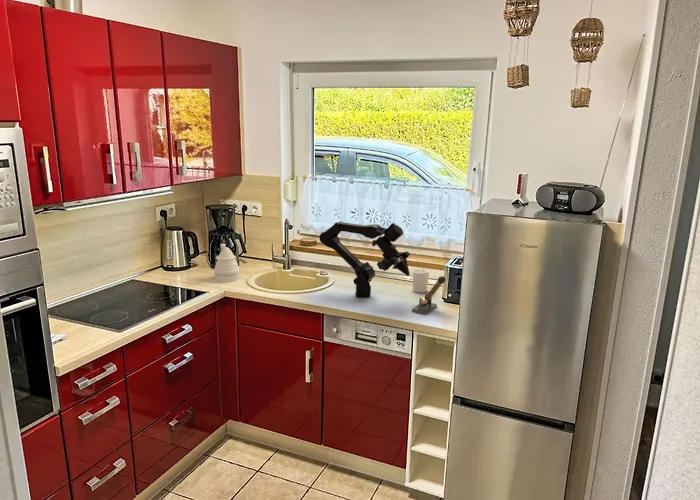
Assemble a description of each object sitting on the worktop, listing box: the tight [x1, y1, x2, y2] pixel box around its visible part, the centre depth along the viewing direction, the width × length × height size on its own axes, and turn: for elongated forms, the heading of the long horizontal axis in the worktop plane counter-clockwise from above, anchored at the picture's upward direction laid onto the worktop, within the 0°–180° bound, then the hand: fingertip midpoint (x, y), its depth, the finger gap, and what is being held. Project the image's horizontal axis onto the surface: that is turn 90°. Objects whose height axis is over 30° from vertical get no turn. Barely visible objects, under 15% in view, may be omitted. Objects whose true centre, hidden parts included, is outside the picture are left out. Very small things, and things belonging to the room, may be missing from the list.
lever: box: [424, 275, 446, 303], centre depth 230 cm, size 3×4×15 cm
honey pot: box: [213, 243, 241, 283], centre depth 269 cm, size 13×13×18 cm
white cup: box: [412, 268, 430, 294], centre depth 256 cm, size 8×8×10 cm
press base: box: [411, 293, 438, 315], centre depth 231 cm, size 7×12×6 cm, turn 150°
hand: (408, 275), depth 235 cm, fingers closed
